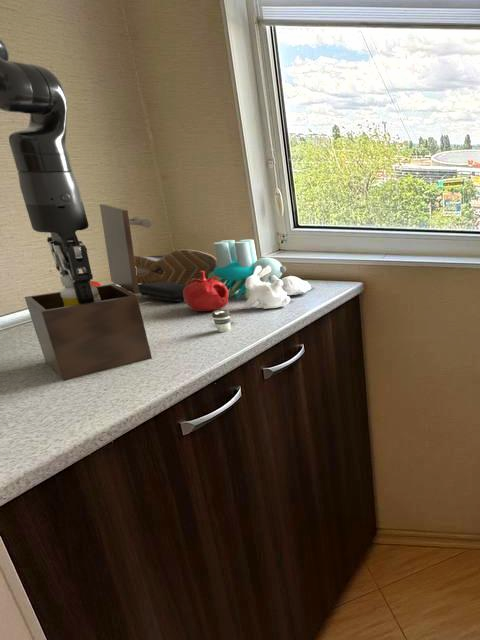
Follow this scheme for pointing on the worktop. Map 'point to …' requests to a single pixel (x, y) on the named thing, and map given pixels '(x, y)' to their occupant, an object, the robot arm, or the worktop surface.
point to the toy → (241, 265)
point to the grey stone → (294, 285)
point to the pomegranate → (206, 294)
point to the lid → (121, 245)
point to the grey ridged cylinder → (222, 320)
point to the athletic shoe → (174, 267)
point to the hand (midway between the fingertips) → (81, 299)
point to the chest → (89, 332)
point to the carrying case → (163, 290)
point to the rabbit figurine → (265, 291)
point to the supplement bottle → (69, 292)
